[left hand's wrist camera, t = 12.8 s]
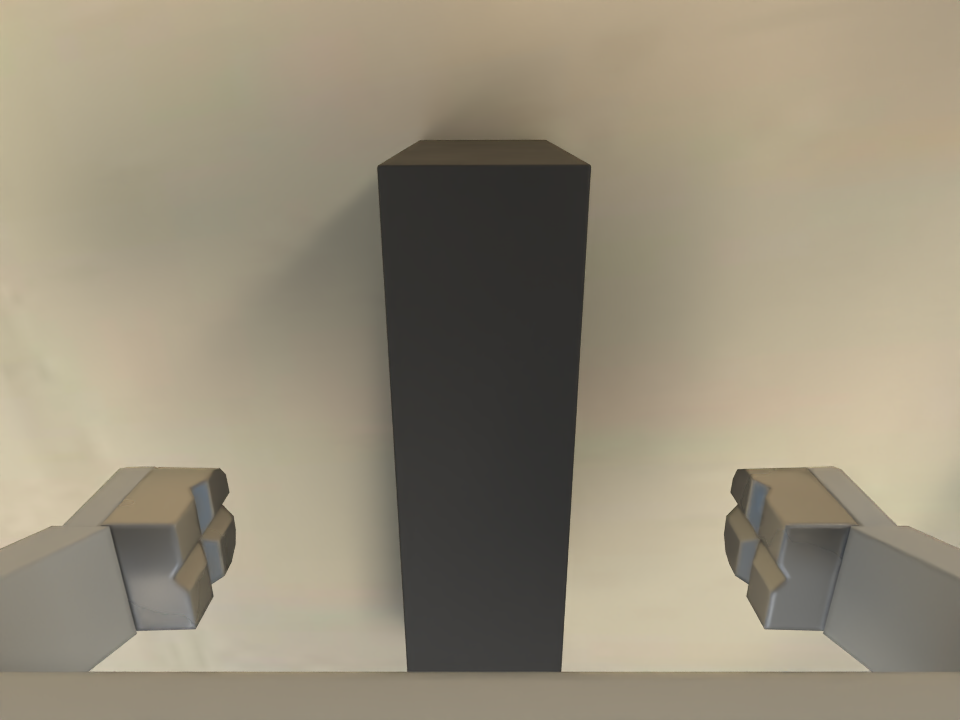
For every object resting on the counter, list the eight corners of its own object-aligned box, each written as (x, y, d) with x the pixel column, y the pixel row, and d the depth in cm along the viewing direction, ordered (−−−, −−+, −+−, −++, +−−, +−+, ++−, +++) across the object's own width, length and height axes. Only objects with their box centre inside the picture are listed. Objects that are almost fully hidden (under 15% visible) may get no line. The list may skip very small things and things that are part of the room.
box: (418, 140, 29) (376, 164, 17) (547, 139, 29) (591, 164, 17) (435, 598, 39) (415, 809, 27) (531, 598, 38) (553, 809, 27)
